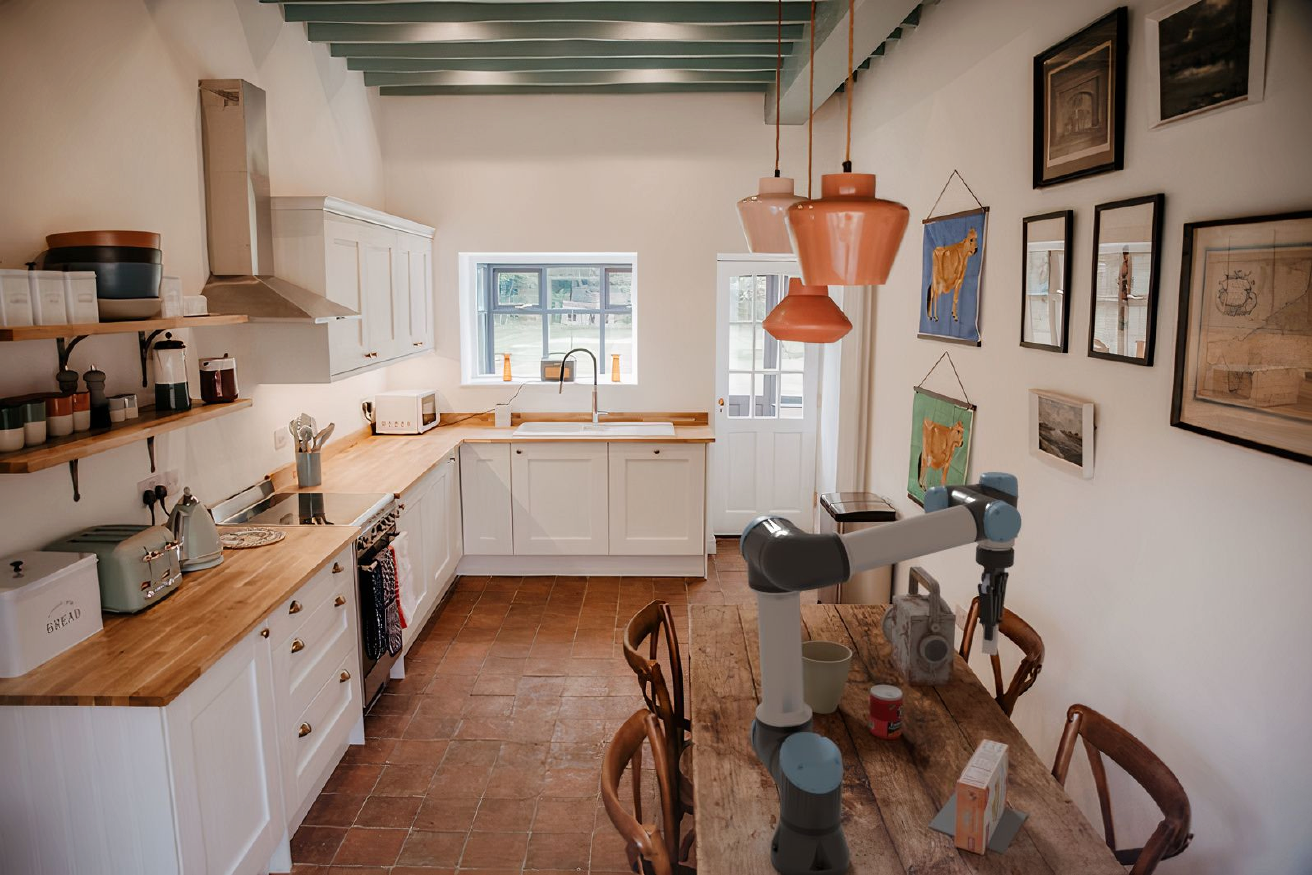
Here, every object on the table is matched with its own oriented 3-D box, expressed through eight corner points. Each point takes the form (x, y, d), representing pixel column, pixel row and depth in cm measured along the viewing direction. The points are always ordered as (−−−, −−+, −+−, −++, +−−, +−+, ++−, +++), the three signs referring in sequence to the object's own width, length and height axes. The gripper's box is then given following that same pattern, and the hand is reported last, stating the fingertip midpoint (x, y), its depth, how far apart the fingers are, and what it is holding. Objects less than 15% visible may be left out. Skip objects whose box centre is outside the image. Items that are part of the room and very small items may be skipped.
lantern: (928, 651, 271) (931, 557, 266) (961, 689, 244) (965, 585, 240) (877, 652, 270) (880, 558, 266) (905, 690, 244) (908, 587, 239)
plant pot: (852, 722, 226) (853, 663, 223) (793, 718, 228) (794, 660, 226) (849, 697, 240) (850, 641, 238) (794, 693, 243) (795, 638, 240)
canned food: (892, 743, 215) (893, 700, 213) (863, 732, 220) (864, 691, 219) (907, 731, 220) (908, 690, 219) (878, 722, 226) (879, 681, 224)
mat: (1003, 854, 171) (1003, 852, 171) (928, 827, 180) (928, 825, 180) (1027, 815, 184) (1027, 814, 184) (956, 791, 193) (956, 790, 193)
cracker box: (1009, 805, 187) (983, 857, 170) (980, 796, 191) (951, 846, 174) (1012, 744, 185) (986, 790, 168) (982, 736, 188) (954, 781, 171)
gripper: (1003, 556, 177) (997, 667, 181) (1023, 542, 187) (1016, 647, 191) (966, 549, 182) (961, 658, 185) (987, 536, 192) (982, 639, 195)
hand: (989, 652), depth 188 cm, fingers closed
